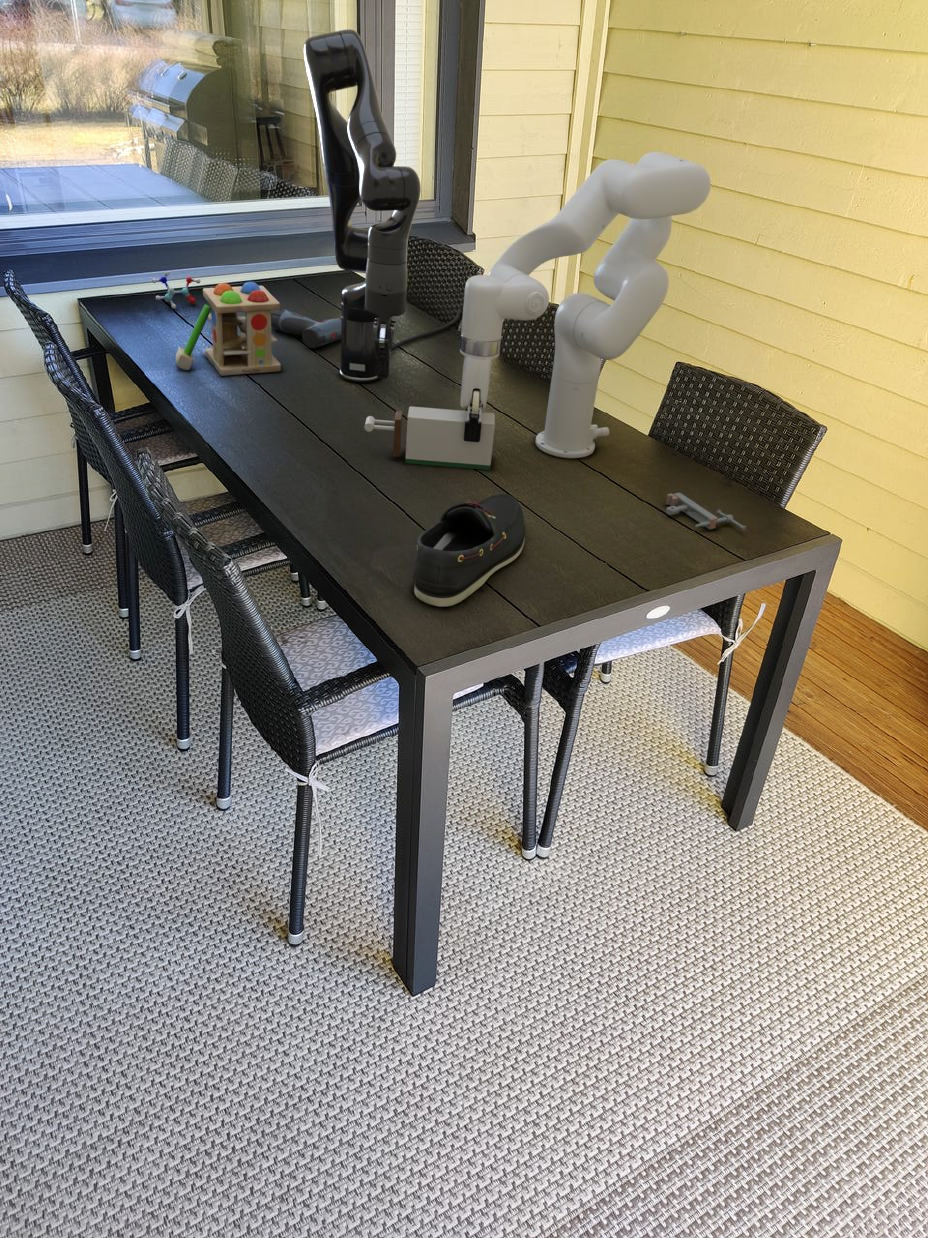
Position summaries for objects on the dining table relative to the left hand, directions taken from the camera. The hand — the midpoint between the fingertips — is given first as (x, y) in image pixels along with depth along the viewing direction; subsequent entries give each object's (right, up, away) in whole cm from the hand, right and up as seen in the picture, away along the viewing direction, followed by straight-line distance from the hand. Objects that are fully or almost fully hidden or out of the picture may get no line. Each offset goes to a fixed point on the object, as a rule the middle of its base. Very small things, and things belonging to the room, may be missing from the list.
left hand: (382, 376), depth 188 cm
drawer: (+6, -13, +9) cm, 17 cm away
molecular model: (-62, +38, +76) cm, 106 cm away
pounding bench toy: (-40, +13, +42) cm, 60 cm away
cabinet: (+12, -15, +10) cm, 21 cm away
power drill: (-24, +27, +66) cm, 75 cm away
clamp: (+60, -28, -3) cm, 66 cm away
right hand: (+17, -10, +6) cm, 21 cm away
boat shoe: (+17, -37, -22) cm, 46 cm away
